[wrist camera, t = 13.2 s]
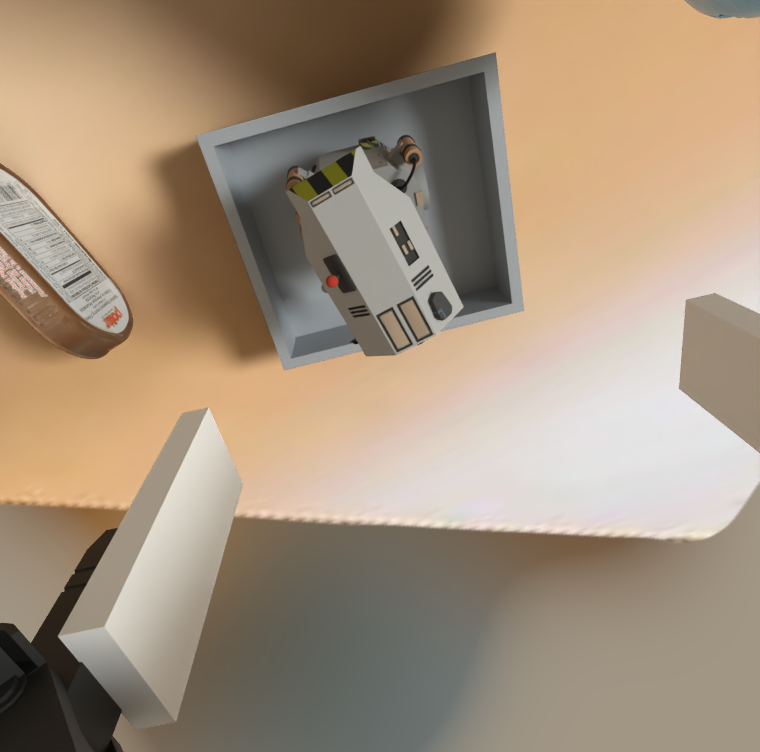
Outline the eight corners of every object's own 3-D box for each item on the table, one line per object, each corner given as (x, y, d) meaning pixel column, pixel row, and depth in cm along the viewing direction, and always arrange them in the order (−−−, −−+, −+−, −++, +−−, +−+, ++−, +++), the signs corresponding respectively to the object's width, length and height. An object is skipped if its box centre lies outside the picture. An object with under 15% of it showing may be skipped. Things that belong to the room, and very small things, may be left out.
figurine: (331, 306, 40) (324, 399, 27) (285, 156, 35) (248, 178, 21) (440, 278, 39) (489, 359, 26) (411, 122, 34) (453, 122, 21)
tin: (-30, 164, 34) (-134, 176, 27) (2, 139, 34) (-94, 144, 26) (125, 334, 41) (76, 382, 33) (154, 315, 40) (111, 360, 33)
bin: (215, 133, 34) (195, 135, 30) (475, 61, 33) (495, 52, 29) (290, 344, 42) (284, 370, 38) (504, 290, 41) (524, 310, 37)
